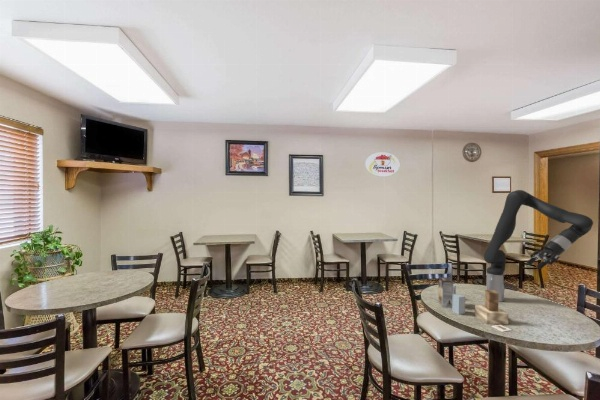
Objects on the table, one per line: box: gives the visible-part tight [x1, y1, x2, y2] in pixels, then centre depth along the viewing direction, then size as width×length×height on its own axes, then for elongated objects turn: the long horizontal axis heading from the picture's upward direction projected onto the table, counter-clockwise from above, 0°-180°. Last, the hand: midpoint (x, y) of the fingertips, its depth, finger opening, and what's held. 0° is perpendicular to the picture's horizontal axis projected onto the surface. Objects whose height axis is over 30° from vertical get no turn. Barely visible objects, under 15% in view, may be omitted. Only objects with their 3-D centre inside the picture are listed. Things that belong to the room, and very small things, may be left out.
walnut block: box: [484, 289, 499, 311], centre depth 154 cm, size 4×4×10 cm
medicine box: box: [453, 284, 457, 295], centre depth 188 cm, size 8×4×9 cm, turn 47°
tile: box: [491, 324, 513, 333], centre depth 144 cm, size 6×6×1 cm
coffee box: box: [437, 276, 454, 309], centre depth 175 cm, size 9×6×16 cm
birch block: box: [474, 304, 509, 325], centre depth 155 cm, size 11×11×6 cm
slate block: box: [451, 293, 466, 316], centre depth 163 cm, size 4×4×10 cm
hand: (533, 265), depth 151 cm, fingers open, 8 cm apart
